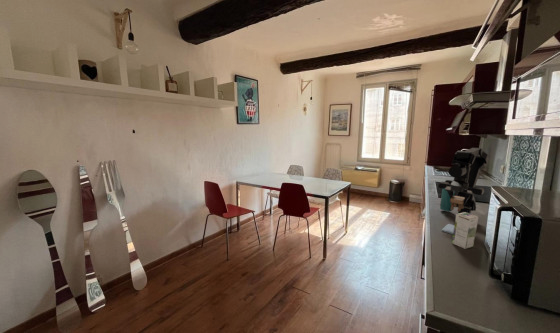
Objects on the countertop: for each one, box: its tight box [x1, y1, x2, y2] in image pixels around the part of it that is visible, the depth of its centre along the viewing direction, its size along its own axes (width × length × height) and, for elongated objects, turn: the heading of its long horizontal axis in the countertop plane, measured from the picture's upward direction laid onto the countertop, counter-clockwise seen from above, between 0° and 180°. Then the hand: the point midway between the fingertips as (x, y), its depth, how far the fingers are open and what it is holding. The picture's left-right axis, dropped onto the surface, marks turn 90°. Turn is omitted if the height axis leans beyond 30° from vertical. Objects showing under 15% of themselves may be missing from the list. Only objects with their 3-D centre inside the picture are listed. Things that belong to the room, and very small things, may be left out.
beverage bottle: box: [439, 179, 456, 212], centre depth 142 cm, size 6×7×20 cm
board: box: [441, 223, 455, 235], centre depth 117 cm, size 11×9×1 cm
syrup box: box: [451, 212, 479, 250], centre depth 102 cm, size 6×6×14 cm
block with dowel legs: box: [450, 195, 465, 212], centre depth 124 cm, size 8×5×6 cm, turn 130°
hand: (457, 203), depth 124 cm, fingers closed on block with dowel legs, 5 cm apart
